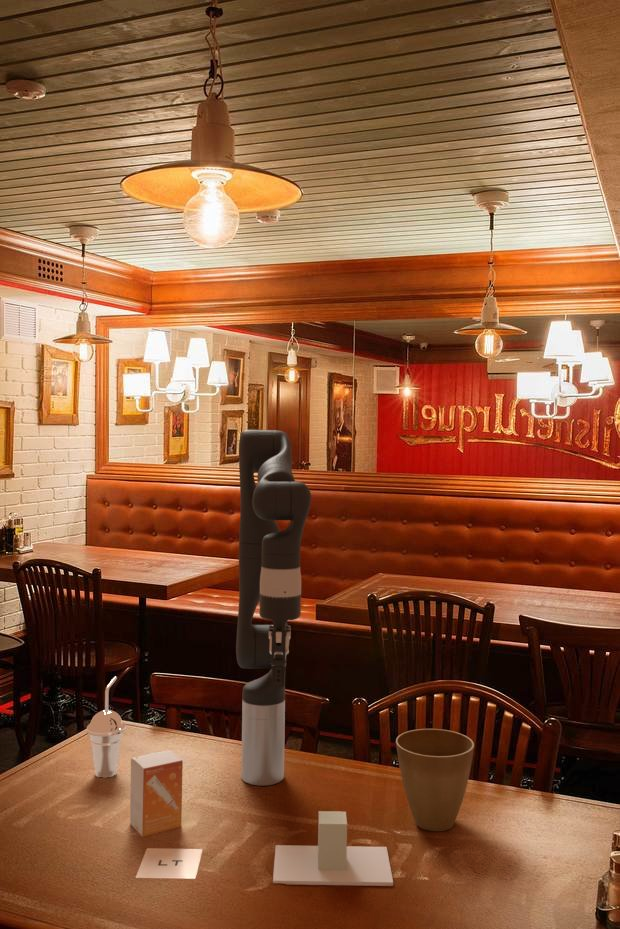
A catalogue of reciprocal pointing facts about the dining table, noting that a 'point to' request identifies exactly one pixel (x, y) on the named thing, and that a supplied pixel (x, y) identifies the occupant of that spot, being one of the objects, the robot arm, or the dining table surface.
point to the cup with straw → (106, 739)
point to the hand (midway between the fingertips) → (279, 679)
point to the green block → (332, 840)
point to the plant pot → (434, 774)
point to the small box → (156, 792)
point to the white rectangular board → (360, 870)
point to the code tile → (170, 863)
